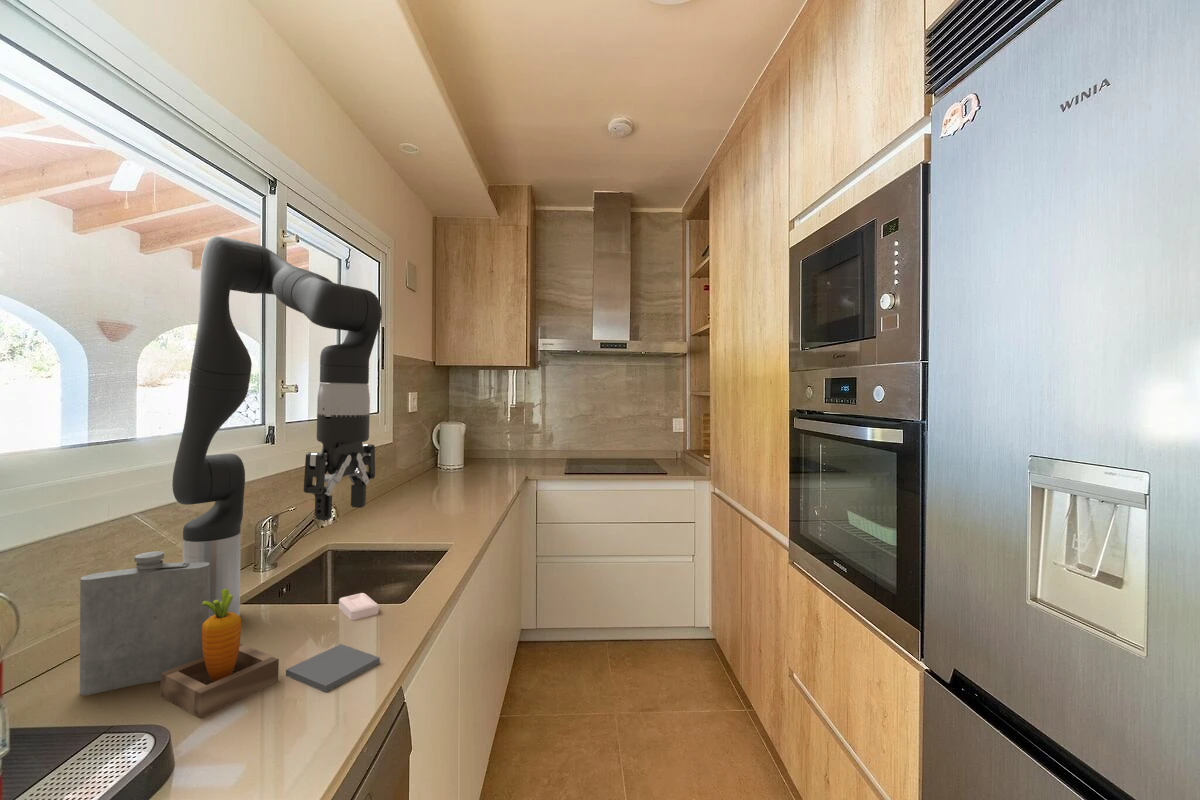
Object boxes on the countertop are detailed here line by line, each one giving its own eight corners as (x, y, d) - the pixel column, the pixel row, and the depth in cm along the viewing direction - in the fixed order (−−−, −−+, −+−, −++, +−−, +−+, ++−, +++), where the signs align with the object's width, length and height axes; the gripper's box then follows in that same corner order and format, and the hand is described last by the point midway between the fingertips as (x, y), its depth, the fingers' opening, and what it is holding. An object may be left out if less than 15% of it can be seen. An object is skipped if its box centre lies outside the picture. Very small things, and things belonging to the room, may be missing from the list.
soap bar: (351, 622, 106) (352, 610, 106) (338, 608, 113) (338, 597, 113) (379, 615, 110) (379, 603, 110) (364, 602, 116) (364, 591, 116)
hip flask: (75, 697, 78) (76, 564, 78) (87, 684, 82) (87, 556, 82) (206, 673, 86) (207, 551, 85) (211, 662, 89) (212, 544, 89)
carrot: (219, 699, 78) (220, 599, 78) (192, 695, 80) (193, 596, 79) (248, 681, 83) (249, 587, 83) (222, 677, 84) (223, 584, 84)
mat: (285, 675, 85) (285, 669, 85) (340, 649, 94) (340, 643, 94) (325, 692, 81) (325, 685, 81) (379, 663, 90) (379, 657, 90)
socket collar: (160, 696, 79) (160, 673, 79) (238, 663, 89) (239, 643, 89) (200, 717, 74) (200, 693, 74) (278, 680, 84) (278, 658, 84)
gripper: (350, 409, 91) (348, 502, 92) (289, 412, 77) (287, 522, 78) (390, 411, 90) (388, 505, 90) (335, 414, 76) (333, 526, 76)
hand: (341, 513), depth 84 cm, fingers open, 8 cm apart
